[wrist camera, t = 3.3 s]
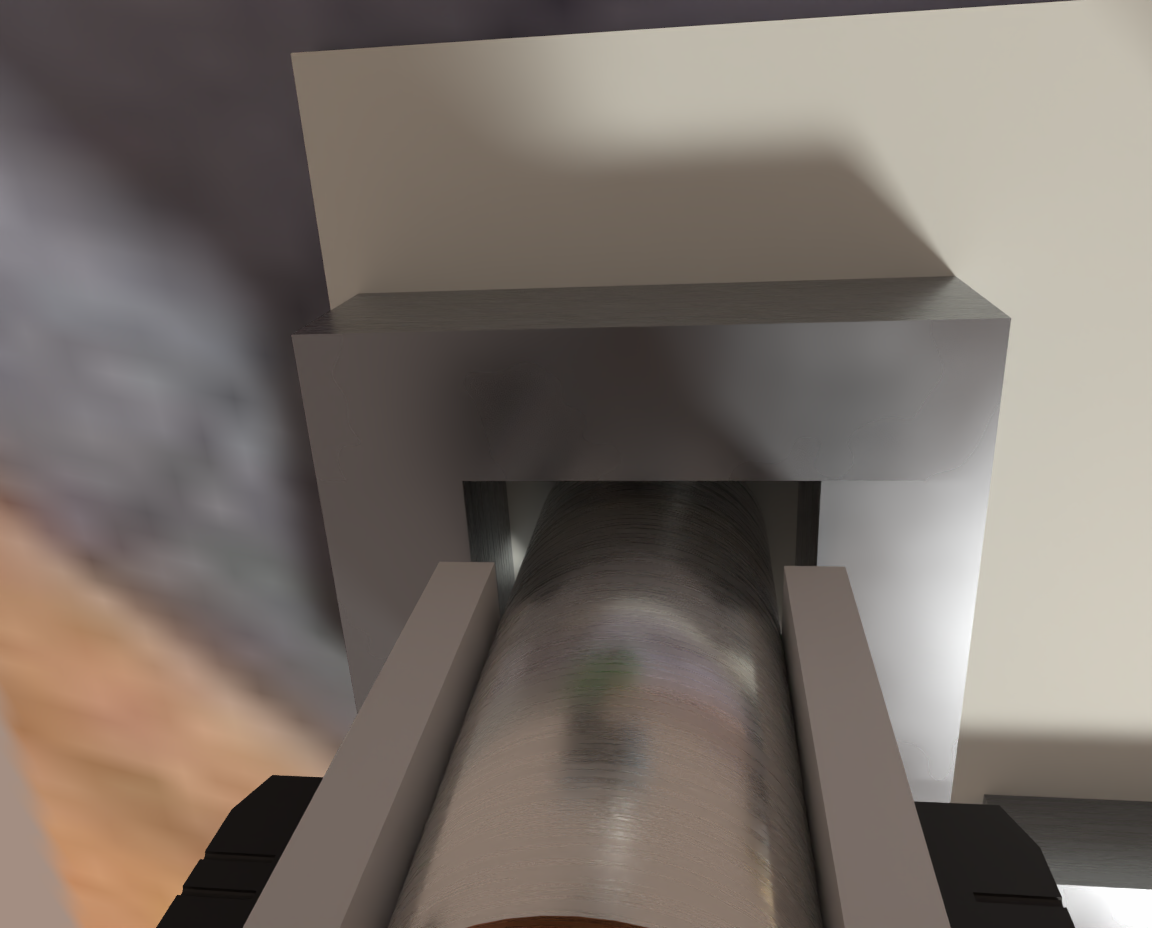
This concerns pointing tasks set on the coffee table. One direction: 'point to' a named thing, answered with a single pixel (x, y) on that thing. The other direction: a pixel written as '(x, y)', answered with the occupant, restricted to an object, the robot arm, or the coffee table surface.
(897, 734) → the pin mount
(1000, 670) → the dock board
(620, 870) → the lock pin
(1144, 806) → the socket
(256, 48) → the coffee table surface
